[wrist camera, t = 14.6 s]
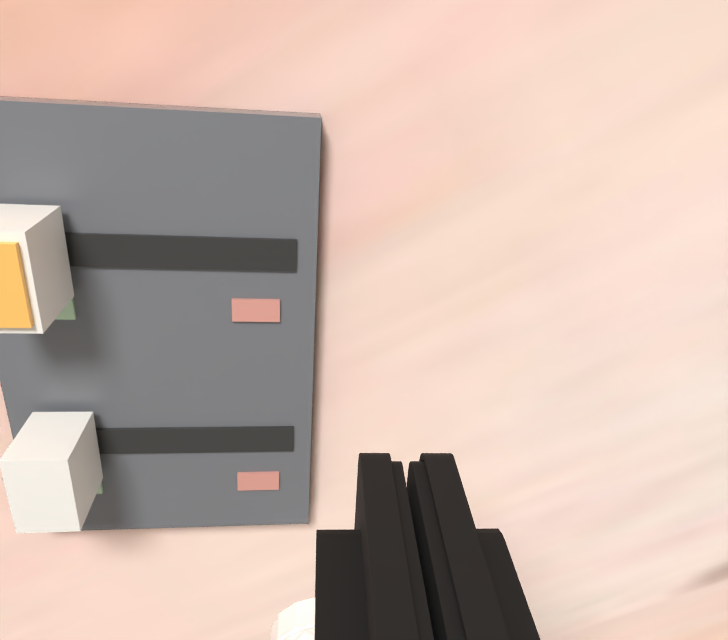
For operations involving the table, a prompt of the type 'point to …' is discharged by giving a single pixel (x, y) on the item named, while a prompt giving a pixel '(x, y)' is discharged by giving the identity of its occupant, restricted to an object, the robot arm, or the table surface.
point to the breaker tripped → (32, 267)
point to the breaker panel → (175, 303)
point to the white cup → (295, 622)
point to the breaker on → (52, 472)
